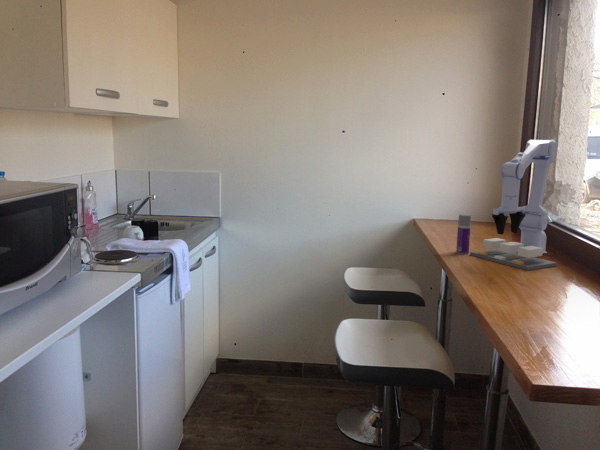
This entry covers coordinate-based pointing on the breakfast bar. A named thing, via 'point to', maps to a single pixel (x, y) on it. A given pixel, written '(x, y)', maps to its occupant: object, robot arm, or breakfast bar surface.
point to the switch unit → (513, 259)
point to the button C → (530, 251)
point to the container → (463, 234)
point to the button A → (493, 243)
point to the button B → (510, 247)
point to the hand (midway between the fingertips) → (507, 233)
